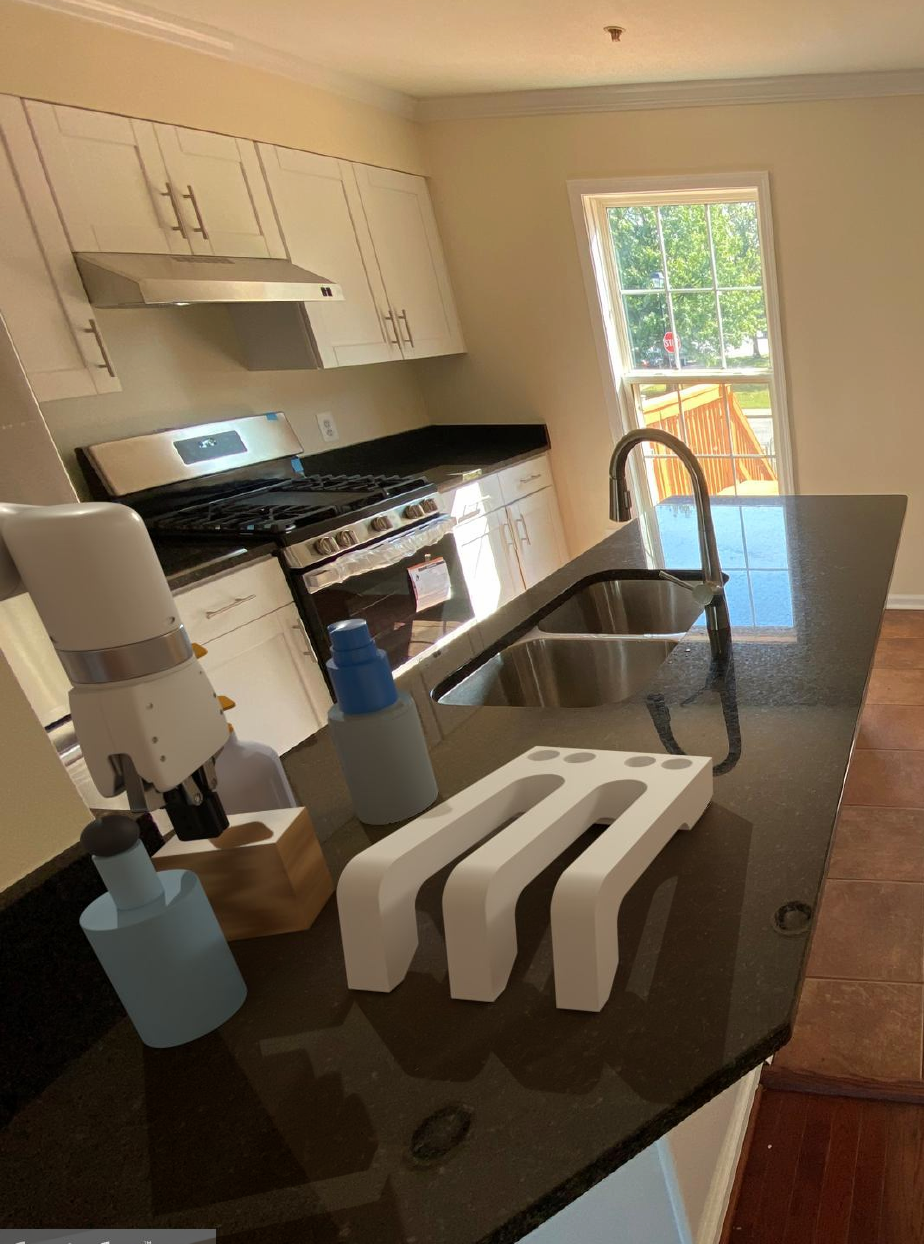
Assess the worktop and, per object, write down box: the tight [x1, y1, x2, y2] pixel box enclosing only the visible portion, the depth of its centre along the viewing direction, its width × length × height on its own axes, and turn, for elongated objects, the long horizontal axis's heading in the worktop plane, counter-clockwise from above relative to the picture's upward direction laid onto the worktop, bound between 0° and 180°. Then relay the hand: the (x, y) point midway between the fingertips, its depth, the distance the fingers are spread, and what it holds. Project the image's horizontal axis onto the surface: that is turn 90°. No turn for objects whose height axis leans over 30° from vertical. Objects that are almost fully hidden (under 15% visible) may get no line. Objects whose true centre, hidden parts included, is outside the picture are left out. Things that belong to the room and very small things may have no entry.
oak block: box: [150, 806, 336, 943], centre depth 72 cm, size 10×6×11 cm, turn 104°
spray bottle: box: [325, 618, 439, 826], centre depth 87 cm, size 9×9×25 cm
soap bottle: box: [190, 642, 298, 815], centre depth 81 cm, size 9×9×25 cm
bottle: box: [79, 814, 248, 1049], centre depth 59 cm, size 13×7×20 cm, turn 13°
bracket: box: [336, 745, 714, 1013], centre depth 79 cm, size 24×12×32 cm
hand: (205, 834), depth 66 cm, fingers closed
